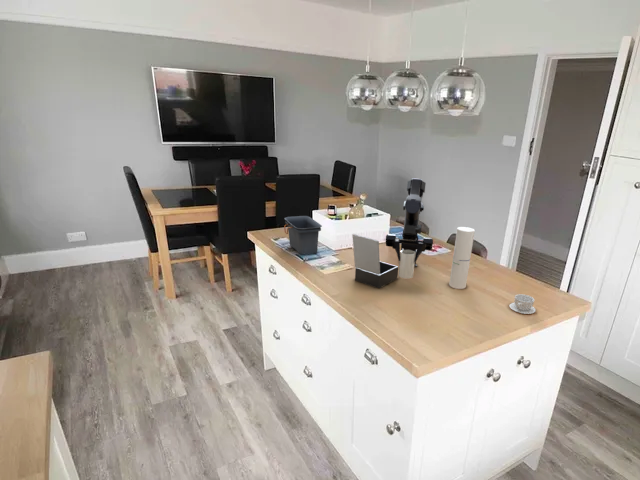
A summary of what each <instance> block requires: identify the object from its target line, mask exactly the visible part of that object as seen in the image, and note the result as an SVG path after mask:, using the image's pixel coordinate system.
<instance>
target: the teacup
mask: <svg viewBox="0 0 640 480" xmlns="http://www.w3.org/2000/svg"><path fill="white" fill-rule="evenodd" d="M534 304H535V298H534V297H533V296H531V295H528V294H522V293H521V294H520V293H518V294H515V295H514V301H513V302H511V303H510V304H509V305H508V306H509V308H510V309H511V310H512V311H514V312H517V313H520V314H525V315H529V314H530V315H531V314H534V313H536V311H537V310H536V308H535V307H534Z"/></svg>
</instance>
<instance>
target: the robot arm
mask: <svg viewBox="0 0 640 480" xmlns="http://www.w3.org/2000/svg"><path fill="white" fill-rule="evenodd" d="M406 185H407V186H406V192H407V196H406V198H405V200H404V202H403V211H404V223H403V229H402V234H401V235H402V236H401V237H402V238H400V237H397V234H392V233H387V234H386V235H385V246H386V247H389V248H390V247H391V248H392V249H393V250H395V253H396V256H397V260H398V262H400V251H402V250H412V251H415V252H416V255H415V265H414V267H418V264H417V260H418V259H419V257H420V256H421V254H422V253H423V252H426V251H432V250H433V246H434V239H433V238H432V237H422V238H423V239H422V240H419V236H418V234H419V235H420V234H422V224H420V223H419V222H420V215H421V213H422V212H423V211H424V209H425V205H424V202H422V199H423V197H424V193H426V182H425V181H423V179H422V178H416V177H415V178H414V177H412V178H410V180H407V183H406Z"/></svg>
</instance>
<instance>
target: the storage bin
mask: <svg viewBox="0 0 640 480" xmlns="http://www.w3.org/2000/svg"><path fill="white" fill-rule="evenodd" d="M284 220H285V222H284V223H285V225H284V233H285V234H286V235H288V241H289V245H290V246H291V247H292V248H293V249H294V250H295V251H296V252H298V253H299V254H300V255H302V256H305V255H313V254H317V253H318V248H319V247H318V245H319V233H320V231H322V227H323V225H322V224H320V222H318V221H316V220H315V219H313V218H312V217H310V216H308V215H299V216H298V215H297V216H295V215H294V216H287V217H284ZM286 226H287V228H286Z"/></svg>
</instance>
